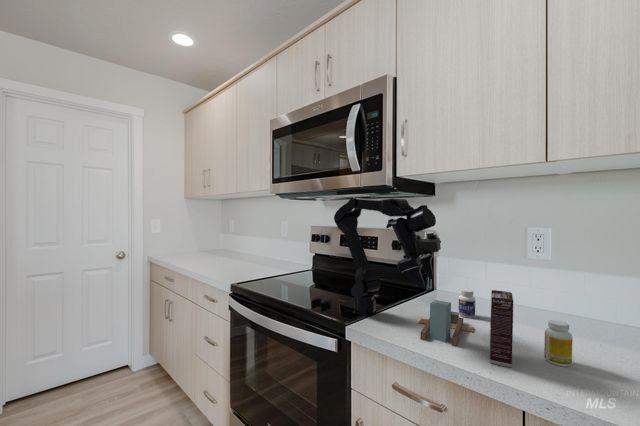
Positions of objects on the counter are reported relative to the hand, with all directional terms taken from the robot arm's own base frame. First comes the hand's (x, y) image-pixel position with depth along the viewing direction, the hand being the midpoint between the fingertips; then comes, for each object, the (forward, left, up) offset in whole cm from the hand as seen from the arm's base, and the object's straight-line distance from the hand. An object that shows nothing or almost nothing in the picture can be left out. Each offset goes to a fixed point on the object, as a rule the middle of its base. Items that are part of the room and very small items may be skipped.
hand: (428, 283), depth 96 cm
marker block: (+4, -5, -14) cm, 16 cm away
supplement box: (+19, -11, -14) cm, 26 cm away
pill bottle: (+9, +20, -14) cm, 27 cm away
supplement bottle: (+31, -6, -14) cm, 35 cm away
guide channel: (+4, +2, -14) cm, 15 cm away
